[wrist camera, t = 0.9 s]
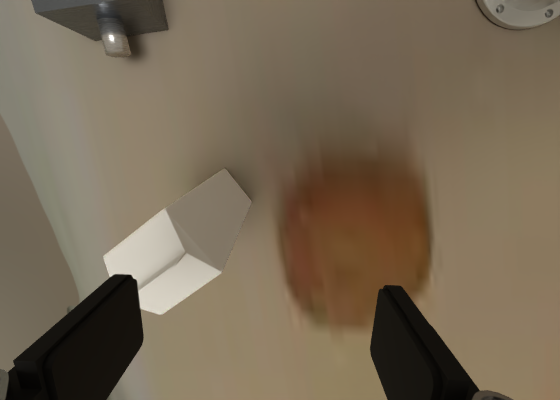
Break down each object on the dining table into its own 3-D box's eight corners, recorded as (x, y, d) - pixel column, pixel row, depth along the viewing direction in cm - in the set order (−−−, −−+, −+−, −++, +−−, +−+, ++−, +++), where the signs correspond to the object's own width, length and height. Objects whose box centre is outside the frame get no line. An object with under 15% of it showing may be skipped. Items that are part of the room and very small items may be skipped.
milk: (191, 193, 37) (62, 280, 16) (225, 166, 36) (137, 221, 14) (220, 226, 38) (136, 351, 17) (253, 202, 37) (210, 301, 16)
